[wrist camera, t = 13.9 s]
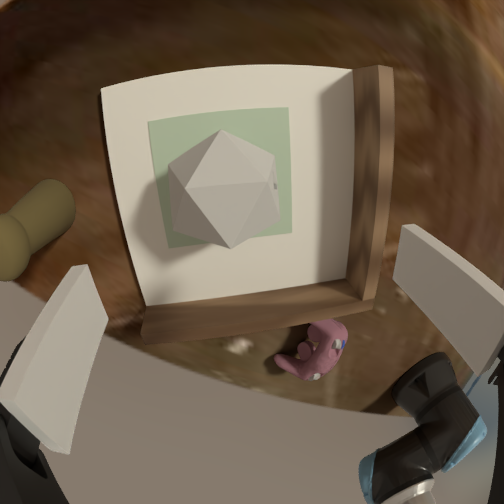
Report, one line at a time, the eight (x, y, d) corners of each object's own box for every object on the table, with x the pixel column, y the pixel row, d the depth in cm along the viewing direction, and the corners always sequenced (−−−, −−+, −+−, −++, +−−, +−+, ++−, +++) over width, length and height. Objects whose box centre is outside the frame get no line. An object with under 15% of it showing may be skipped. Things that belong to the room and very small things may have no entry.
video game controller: (291, 352, 39) (323, 385, 35) (268, 360, 36) (301, 397, 32) (321, 298, 36) (361, 332, 31) (298, 303, 33) (340, 342, 28)
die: (237, 238, 28) (315, 239, 20) (153, 251, 23) (213, 258, 15) (230, 156, 27) (305, 129, 19) (146, 153, 22) (202, 110, 14)
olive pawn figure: (68, 172, 22) (3, 211, 12) (82, 230, 25) (32, 291, 15) (24, 185, 21) (-42, 227, 12) (38, 238, 24) (-15, 295, 15)
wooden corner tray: (352, 282, 33) (372, 309, 28) (150, 311, 31) (144, 344, 26) (361, 72, 22) (392, 67, 17) (103, 89, 19) (80, 84, 15)
